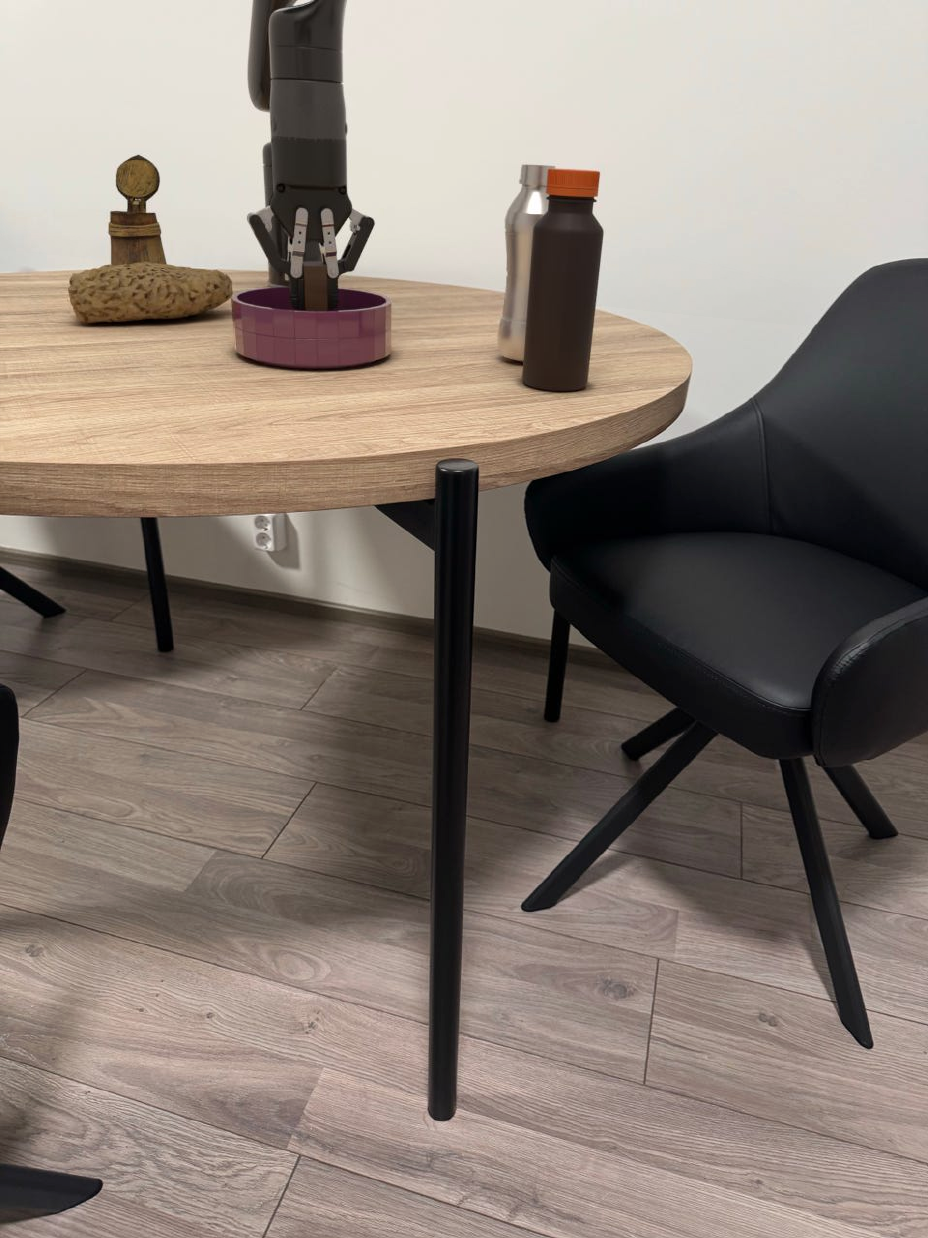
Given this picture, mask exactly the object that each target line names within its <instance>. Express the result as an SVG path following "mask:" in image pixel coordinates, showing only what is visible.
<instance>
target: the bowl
mask: <svg viewBox="0 0 928 1238" xmlns="http://www.w3.org/2000/svg"><path fill="white" fill-rule="evenodd" d="M230 307H231V320H232V334H233V335H232V336H233V347H234V348H233V349H234V350H235V352H236V353H238V354H239V355H240V356H243V357H245V358H249V359H251V360H252V361H255V362H258V363H259V364H260V363H261V364H265V365H270V366H273V367H280V368H289V369H302V370H303V369H304V370H332V369H333V370H334V369H336V370H337V369H346V368H347V369H348V368H354V367H355V368H356V367H360V366H365V365H369V364H372V363H374V362H376V361H378V360H381V359H384V358H386V357H387V356H389V355H390V354H391V353H392V309H393V308H392V307H393V306H392V299H391V298H390V297H388V296H387V295H384V294H381V293H377V292H372V291H368V290H363V289H354V288H348V287H347V288H346V287H338V306H337V308H334V309H333V311H302V310H296V309H293V307H292V306H291V304H290V298H289V286H281V287H269V286H268V287H267V286H266V287H257V288H251V289H243V290H241V291H237V292H235V293H233V294H232V296H231V298H230Z"/></svg>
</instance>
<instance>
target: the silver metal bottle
mask: <svg viewBox="0 0 928 1238" xmlns="http://www.w3.org/2000/svg"><path fill="white" fill-rule="evenodd" d="M550 168H552V169H556V166H555V165H544V164H521V166H520V177H519V180H518V181H519V182H518V184H520V185H521V187H520V191H519V192H518V194H517V195H516V197H515V198H514V199H513V201H511V204H510V205H509V207H508V209H507V211H506V214H505V217H504V230H505V231H504V235H505V236H504V238H505V252H506V253H505V254H506V269H505V270H506V276H505V278H506V280H505V291H504V299H503V305H502V316H500V320H499V324H498V330H497V334H496V335H497V347H498V350H499V352H500V354H501V356H502V357H504V358H506V359H510V360H514V361H516V362H517V361H518V362H521V363H523V358H524V345H525V332H526V319H527V305H528V292H529V279H530V266H531V252H532V239H533V228H534V226H535V224H536V223H537V222H538V221H539V220H540V219H541V218H542V217H543V215H544V214H545V213H546V212H547V211H548V203H549V200H547V199H546V197H548V196H549V194H546V186H547V174H548V169H550Z"/></svg>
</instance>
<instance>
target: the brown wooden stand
mask: <svg viewBox="0 0 928 1238" xmlns="http://www.w3.org/2000/svg"><path fill="white" fill-rule="evenodd" d="M116 168H117V169H116V172H115V187H116V189H117V192H118V193H119V194H120V195H121V196H122V197H124V198H125V200H126V201H127V202H126V204H127V205H126V206H127V207H126V211H125V210H124V211H122V210H111V211H110V212H109V222H108V227H107V228H108V230H107V231H108V232H107V234H108V235H109V236H110V237H109V238H110V265H113V266H118V265H125V264H126V265H129V264H133V263H143V262H151V263H157V264H168V263H167V259H166V255H165V249H164V246H163V240H162V236H161V235H162V229H161V225H160V222H159V221H158V218H157V214H156V212H147V201H149V200H150V199H151V198H153V196H154V195H156V193H157V192H158V191H159V188H160V184H161V176H160V172H159V170H158V168H157V166H156V165H155V164H154V163H153V162H151V161H150V160H149V159H147V158H146V157H144V156H142V155H141V154H136V155H134V156H131V157H129V158H127V159H126V160H124V161H123V162H121V163H120V165H118V167H116Z"/></svg>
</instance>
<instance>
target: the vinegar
mask: <svg viewBox="0 0 928 1238" xmlns="http://www.w3.org/2000/svg"><path fill="white" fill-rule="evenodd" d="M600 179H601V171H599V170H591V169H590V170H589V169H576V168H575V169H573V168H555V169H552V168H550V169H548V174H547V186H546V194H549V196H548V197H546V199H547V200H549V203H548V211H547V212H546V213H545V214H544V215H543V217H542V218H541V219H540V220H539V221H538V222H537V223H536V224H535V226H534V228H533V239H532V252H531V266H530V279H529V292H528V305H527V319H526V332H525V345H524V358H523V362H522V372H521V373H522V374H521V380H522V382H523V383H524V384H525V385H526V386H528V387H530V388H534V389H538V390H542V391H551V392H573V391H579V390H582V389H584V388H585V387H586V386H587V384H588V382H589V381H588V380H589V372H590V362H591V353H592V345H593V344H592V343H593V335H594V325H595V316H596V307H597V299H598V288H599V279H600V273H601V272H600V271H601V261H602V253H603V252H602V251H603V245H604V244H603V242H604V234H605V232H604V228H603V226H602V225H601V223H600V222H599V220H598V219H597V218H596V216H595V214H594V203H597V201H598V200H597V199H596V198H597V197H598V196H599V188H600Z"/></svg>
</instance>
